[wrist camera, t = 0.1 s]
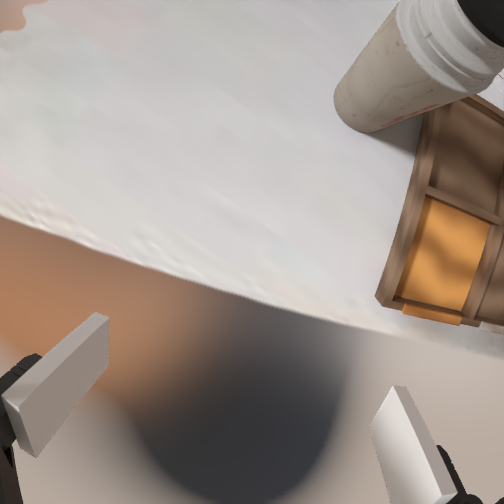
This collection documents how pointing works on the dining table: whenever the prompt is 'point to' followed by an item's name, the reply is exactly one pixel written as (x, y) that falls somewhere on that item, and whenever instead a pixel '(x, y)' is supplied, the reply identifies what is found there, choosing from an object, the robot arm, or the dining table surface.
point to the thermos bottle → (422, 61)
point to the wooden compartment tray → (452, 221)
